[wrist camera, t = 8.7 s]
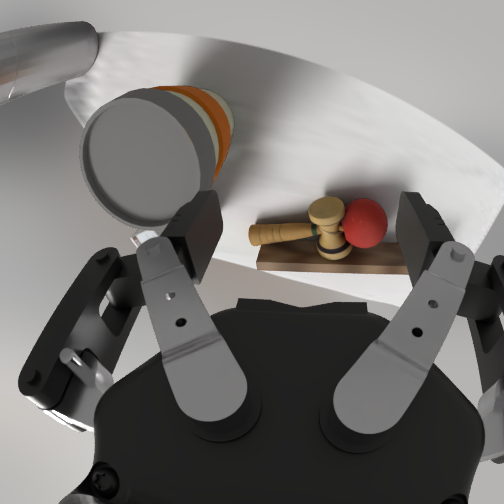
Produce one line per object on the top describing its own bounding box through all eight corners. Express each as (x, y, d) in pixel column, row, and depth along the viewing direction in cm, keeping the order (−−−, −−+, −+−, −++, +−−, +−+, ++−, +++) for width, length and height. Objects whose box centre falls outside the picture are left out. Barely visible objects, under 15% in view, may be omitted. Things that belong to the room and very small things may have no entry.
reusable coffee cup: (237, 179, 36) (194, 250, 25) (151, 157, 37) (83, 213, 25) (259, 86, 28) (217, 107, 17) (160, 69, 29) (76, 90, 17)
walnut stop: (263, 247, 42) (257, 270, 39) (262, 239, 42) (256, 261, 38) (424, 251, 37) (432, 274, 33) (426, 244, 36) (435, 266, 32)
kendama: (269, 249, 44) (389, 240, 36) (253, 271, 39) (390, 264, 31) (255, 201, 41) (383, 184, 33) (236, 218, 36) (384, 200, 28)
